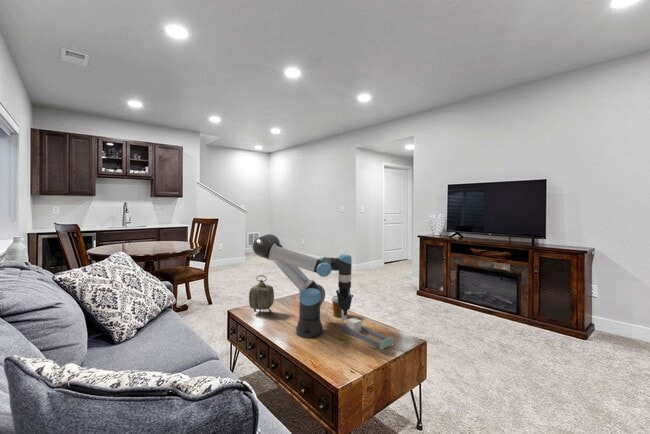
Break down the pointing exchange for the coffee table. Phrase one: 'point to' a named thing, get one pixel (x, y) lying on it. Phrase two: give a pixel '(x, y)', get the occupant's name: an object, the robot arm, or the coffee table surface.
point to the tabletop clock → (261, 296)
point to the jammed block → (354, 324)
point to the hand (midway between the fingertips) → (343, 320)
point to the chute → (383, 343)
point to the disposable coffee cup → (336, 307)
